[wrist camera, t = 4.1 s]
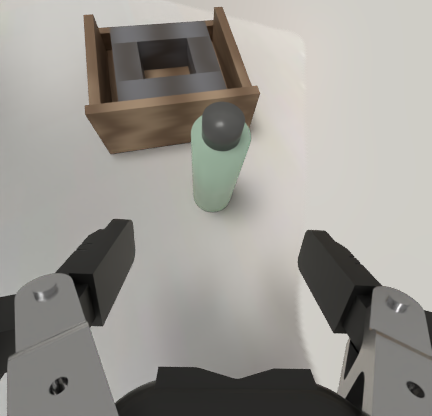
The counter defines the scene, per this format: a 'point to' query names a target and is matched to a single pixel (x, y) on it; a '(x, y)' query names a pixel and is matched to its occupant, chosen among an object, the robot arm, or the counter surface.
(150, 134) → the box
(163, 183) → the counter surface
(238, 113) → the mint green cylinder
